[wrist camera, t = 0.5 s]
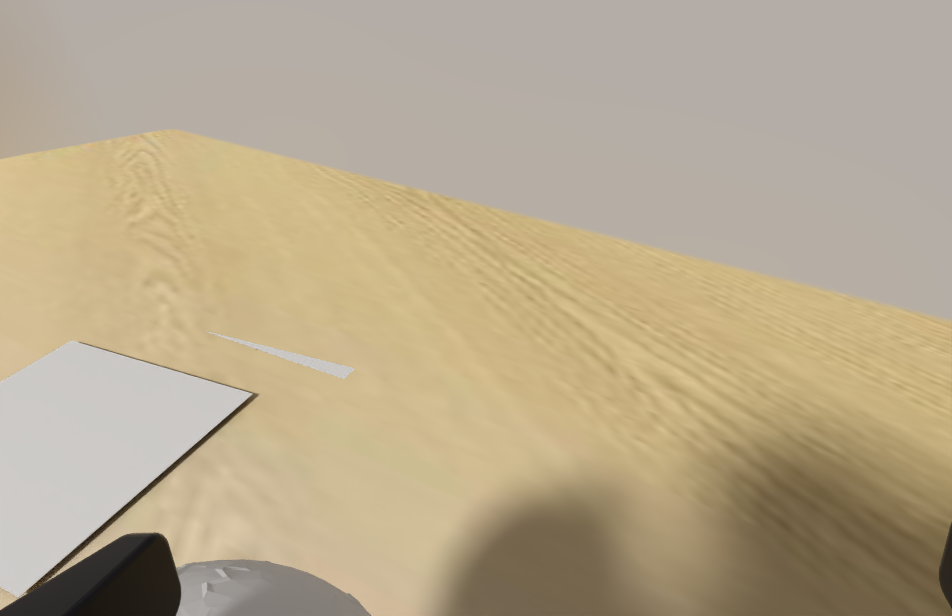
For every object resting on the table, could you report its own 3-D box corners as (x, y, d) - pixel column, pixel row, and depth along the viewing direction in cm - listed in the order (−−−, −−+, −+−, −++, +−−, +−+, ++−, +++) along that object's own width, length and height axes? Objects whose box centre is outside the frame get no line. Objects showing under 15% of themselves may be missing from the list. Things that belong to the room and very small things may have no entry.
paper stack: (181, 284, 50) (178, 277, 49) (451, 342, 40) (450, 333, 40) (-167, 492, 32) (-175, 483, 32) (163, 689, 22) (157, 678, 22)
